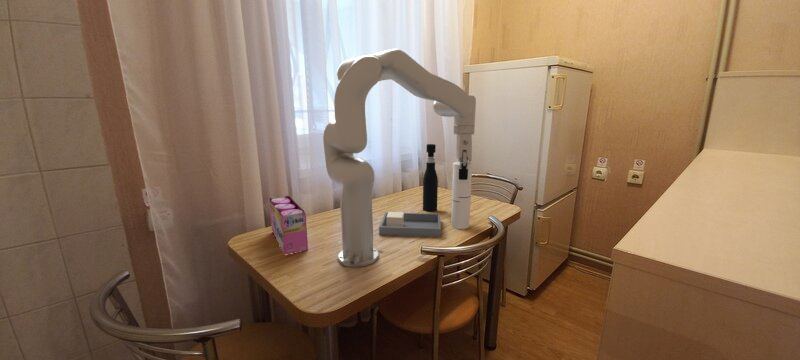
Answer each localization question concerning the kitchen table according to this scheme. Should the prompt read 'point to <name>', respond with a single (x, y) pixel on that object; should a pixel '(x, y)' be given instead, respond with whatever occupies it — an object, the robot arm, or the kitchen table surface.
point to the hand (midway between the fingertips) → (462, 176)
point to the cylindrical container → (461, 198)
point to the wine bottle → (430, 182)
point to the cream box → (395, 219)
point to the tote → (414, 225)
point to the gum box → (288, 224)
